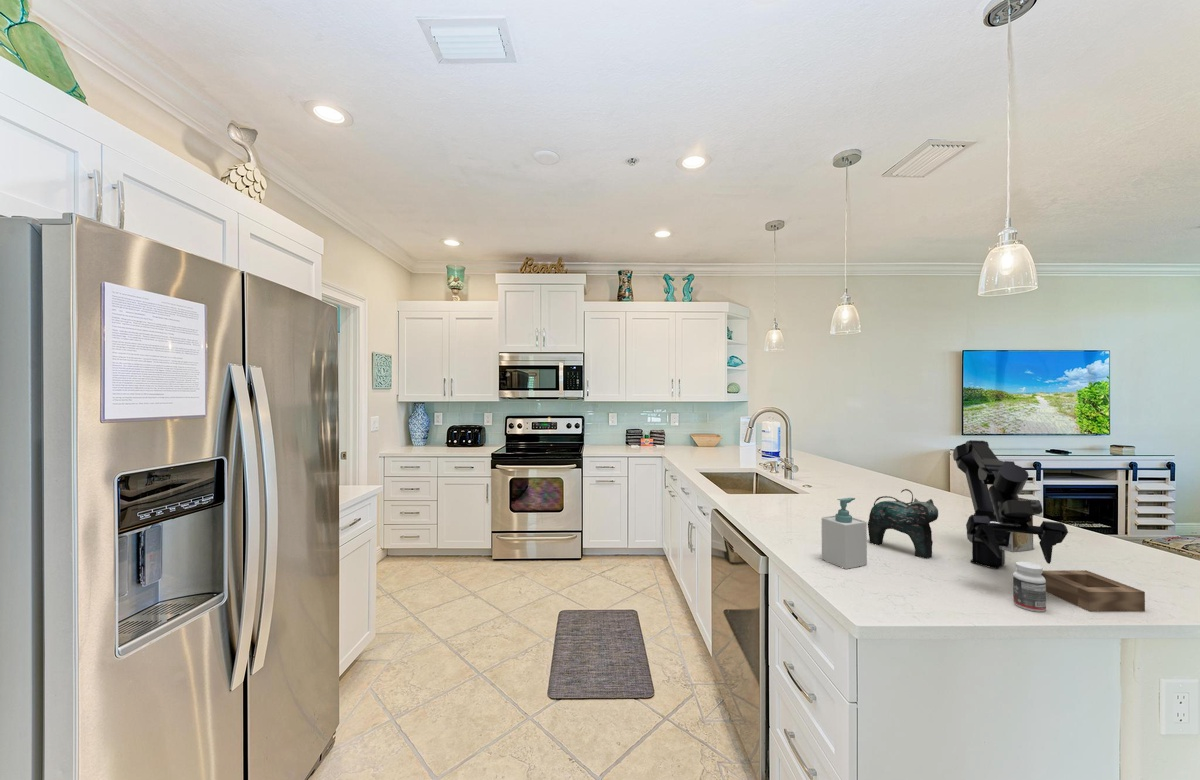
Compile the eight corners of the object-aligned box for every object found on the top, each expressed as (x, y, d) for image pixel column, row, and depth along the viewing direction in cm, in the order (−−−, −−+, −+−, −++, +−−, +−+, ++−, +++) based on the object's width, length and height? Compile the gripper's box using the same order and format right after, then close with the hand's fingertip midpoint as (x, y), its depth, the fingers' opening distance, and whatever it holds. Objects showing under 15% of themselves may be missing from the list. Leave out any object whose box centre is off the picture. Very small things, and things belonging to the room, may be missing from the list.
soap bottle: (867, 565, 135) (867, 500, 135) (845, 569, 132) (845, 503, 132) (842, 555, 143) (842, 494, 143) (821, 559, 140) (820, 496, 140)
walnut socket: (1089, 611, 106) (1089, 591, 106) (1037, 587, 119) (1036, 570, 119) (1145, 611, 106) (1144, 591, 106) (1086, 587, 119) (1086, 570, 119)
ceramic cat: (940, 558, 140) (939, 493, 141) (928, 562, 137) (928, 495, 138) (875, 540, 158) (874, 482, 158) (863, 543, 155) (863, 483, 155)
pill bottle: (1012, 599, 113) (1012, 558, 113) (1044, 606, 109) (1044, 564, 109) (1014, 607, 108) (1013, 565, 108) (1047, 615, 105) (1047, 571, 105)
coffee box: (1011, 543, 154) (1011, 495, 154) (1034, 549, 148) (1033, 499, 148) (991, 546, 151) (990, 497, 151) (1013, 552, 145) (1012, 501, 145)
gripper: (968, 483, 120) (983, 537, 110) (1063, 490, 112) (1088, 548, 102) (960, 507, 127) (973, 560, 117) (1049, 514, 119) (1071, 572, 109)
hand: (1024, 559), depth 111 cm, fingers open, 9 cm apart
